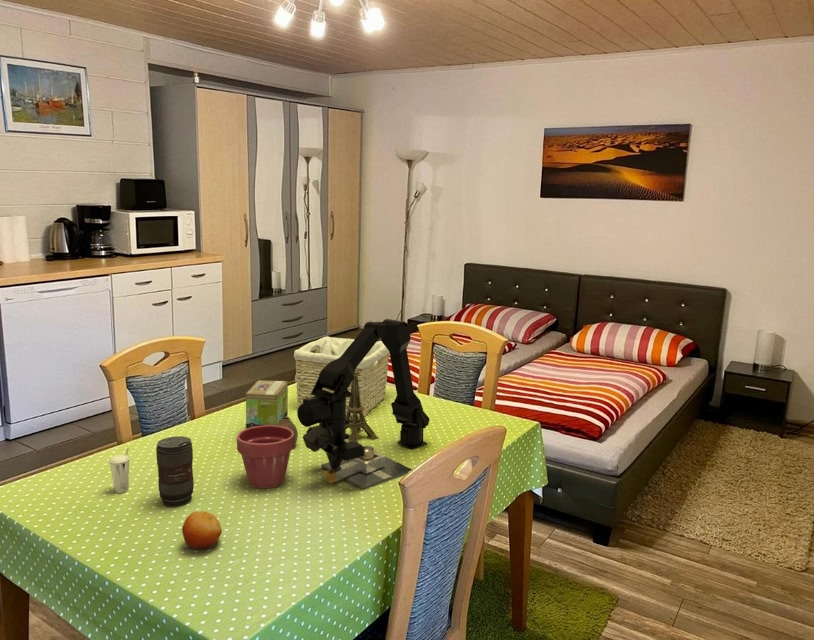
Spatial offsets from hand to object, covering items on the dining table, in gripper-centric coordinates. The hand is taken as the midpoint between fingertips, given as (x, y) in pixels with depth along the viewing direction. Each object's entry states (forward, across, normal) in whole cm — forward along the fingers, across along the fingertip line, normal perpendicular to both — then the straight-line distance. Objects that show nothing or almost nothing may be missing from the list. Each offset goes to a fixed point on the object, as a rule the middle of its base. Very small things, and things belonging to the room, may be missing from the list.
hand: (334, 472), depth 170 cm
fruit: (+1, +10, -40) cm, 41 cm away
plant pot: (+2, -10, -14) cm, 17 cm away
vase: (+3, -27, +1) cm, 27 cm away
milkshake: (+2, -27, -45) cm, 52 cm away
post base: (+2, +1, +10) cm, 10 cm away
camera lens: (+2, -13, -37) cm, 39 cm away
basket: (+4, -49, +37) cm, 61 cm away
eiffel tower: (+3, -20, +21) cm, 30 cm away
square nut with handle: (+1, +2, +5) cm, 5 cm away
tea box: (+3, -41, +3) cm, 41 cm away
